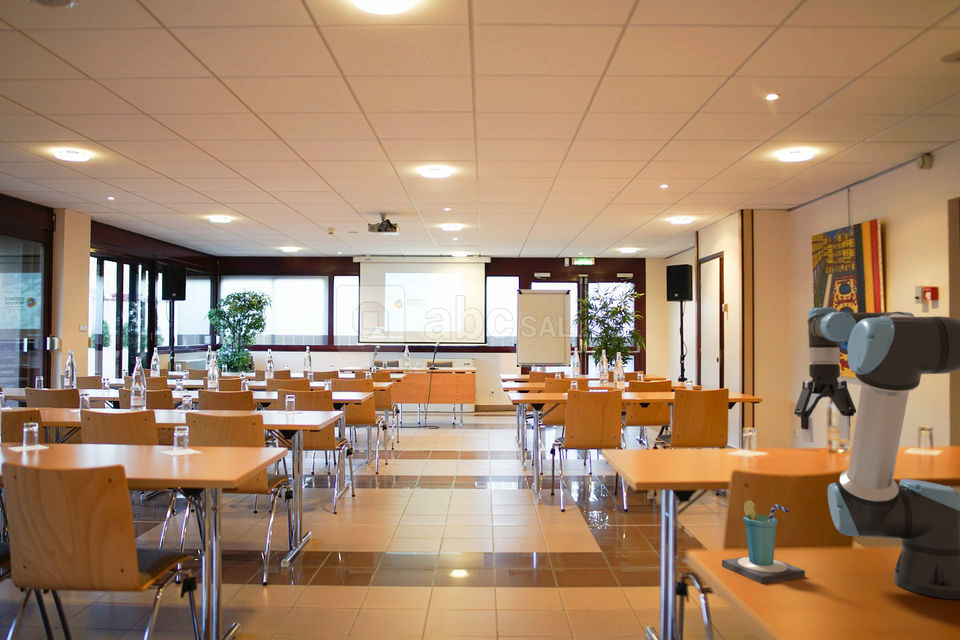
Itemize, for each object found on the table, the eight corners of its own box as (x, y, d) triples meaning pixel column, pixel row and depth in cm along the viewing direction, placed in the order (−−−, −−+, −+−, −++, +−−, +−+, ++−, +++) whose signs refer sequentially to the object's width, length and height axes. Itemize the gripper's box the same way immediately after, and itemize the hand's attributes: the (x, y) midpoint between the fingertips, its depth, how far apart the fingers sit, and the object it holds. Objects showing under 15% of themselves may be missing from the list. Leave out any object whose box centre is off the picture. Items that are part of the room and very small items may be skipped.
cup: (800, 569, 153) (799, 505, 153) (777, 574, 149) (776, 508, 150) (752, 553, 165) (750, 493, 166) (730, 557, 162) (728, 496, 162)
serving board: (805, 576, 153) (804, 569, 153) (761, 583, 149) (761, 575, 149) (763, 560, 165) (763, 553, 165) (722, 566, 161) (721, 558, 161)
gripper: (845, 363, 188) (847, 436, 187) (779, 363, 180) (780, 440, 178) (869, 363, 181) (871, 439, 180) (801, 363, 173) (803, 444, 171)
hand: (826, 440), depth 179 cm, fingers open, 13 cm apart
